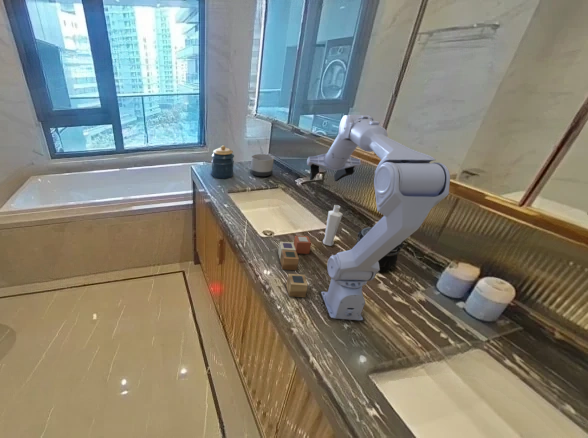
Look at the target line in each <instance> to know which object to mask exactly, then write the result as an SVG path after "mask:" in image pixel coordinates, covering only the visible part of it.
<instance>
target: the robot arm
mask: <svg viewBox="0 0 588 438" xmlns="http://www.w3.org/2000/svg"><path fill="white" fill-rule="evenodd" d="M358 147H359V148H360V149H361V150H362V151H364V152H373V153H374V154H376V156H377V157H378V158H379V160H380V161H379V163H378V164H377V166H376V168H375V171H374V176H373V177H374V178H373V186H374V194H375V195H374V196H375V204H376V210H377V212H378V213H379V214H381V215H383V216H382V217H381V218H380V219H379V220H378V221H377V222H376V223H375V224H373V226H372V227H373V228H372V229H371V230H370V231H369V232H368V233H367V234H366V235H365V236H364V237H363V238H362V239H361V240H360V241H359V242H358V243H357V244H356V243H355V244H356V245H355V244H354V245H353V247H352V248H351V249H347V250H344V251H339V252H337V253H336V254H332V255H330V257H329V258H328V260H327V263H326V264H327V265H326V266H327V267H326V269H327V274H328V276H329V277H330V282H329V285H328V290H327V291H321V292H320V294H321V297H322V300H323V302H324V304H325V307H326V310H327V312H328V315H329V317H330V318H331V319H334V320H335V319H337V320H351V321H363V320H364V318H363V316H362V312H363V310H364V307H365V304H366V299H365V297H364V294H363V286H366V285H367V283H368V282H372V281H373V280H374V279H375V277H376V276H377V273H378V272H380V271H379V270H380V268H379V262H378V261H379V260H380V259H381V258H383V257H384V256H385V255H386V254H388V253H389V252H390V251H391V250H393V249H394V248H395V247H396V246H398V245H399V244H400V243H401V242H402V243H403V242H404V241H405V240H407V239H408V238H409V237H410V236H411V235H413V234H414V233H415V232H417V231H418V230H419V229H420V228H421V226H422V225H423V223H424V221H425V220H426V218H427V217H428V215H429V213H430V212H431V210H432V209H434V207H436V206H437V205H438V204H439V203H441V202H442V201H443V200H444V199H445V198H446V197H448V196H449V194H450V183H451V174H450V170H449V168H448V167H447V166H446V164H444V163H443V162H437V161H436V159H435V157H433V156H432V155H430V154H426V153H424V152H421V151H419V150H416V149H413V148H411V147H408V146H406V145H405V144H403V143H400V142H399V141H397V140H395V139H393V138H390V137H388V132H387V129H385V127H383V126H381V125H380V121H379V120H375V119H374V117H372V116H371V115H370V114H347V115H346V114H345V115H343V116H342V118H341V119H340V121H339V125H338V134H337V135H336V137H335V139H334V140H333V142H332V144H331V146H330V147H329V149H328V151H327V152H326V153H322V154H318V155H314V156H313V155H312V156H308V158H307V160H306V165H307V166H308V167H310V172H309V180H310V181H313V180H314V179H315V178H316V176H317V175H318V174H320V168H324V169H327V170H330V171H336V172H335V173H334V175H333V176H334V177H333V178H334V179H333V180H334V182H338V181H340V180H342V179H343V178H345V177H347V176H352V175H353V174H354V172H355V169H359V167H360V166H361V165H362V163H361V159H360V158H356V157H352V154H353V153H354V151H355V150H356V149H357V148H358ZM435 161H436V162H435Z"/></svg>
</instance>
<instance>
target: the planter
mask: <svg viewBox="0 0 588 438" xmlns="http://www.w3.org/2000/svg"><path fill="white" fill-rule="evenodd" d="M274 160H275V156H273V155H270V154H266V153H265V154H264V153H257V154H253V155H251V158H250V170H249V171H250V174H251V175H253V176H256V177H260V178H262V177H268V176H271V175H273V169H274V168H273V167H274Z"/></svg>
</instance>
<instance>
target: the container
mask: <svg viewBox="0 0 588 438" xmlns="http://www.w3.org/2000/svg"><path fill="white" fill-rule="evenodd" d="M373 227H374V226H372V227H371V226H370V227H364V228H363V229H361V230H359V231H358V232H357V238H356V242H355V244H354V246H355V245H356V244H357V243H358V242H359V241H360V240H361V239H362V238H363V237H364V236H365V235H366V234H367V233H368V232H369V231H370V230H371V229H372V228H373ZM403 248H404V243H403V242H401V243H400V244H399V245H398V246H396V247H395V248H394V249H393V250H391V251H390V252H389V253H388V254H386V255H385V256H384V257H383V258H381V259H380V260H379V261H378V262H379V268H380V270H379V271H378V272H388V271H390V270H391V268H392V267H393V266H394V265H396V264H397V262H398V255H399V253H400V252H401V250H402V249H403Z"/></svg>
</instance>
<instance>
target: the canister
mask: <svg viewBox="0 0 588 438" xmlns="http://www.w3.org/2000/svg"><path fill="white" fill-rule="evenodd" d="M211 158H212V160H211V176H212V177H213V178H217V179H229V178H232V177H233V176H234V165H235V164H234V163H235V160H234V158H235V154H234V151H233V150H232V149H231V148H229V147H226V145H221V146H220V147H217V148H216V149H213V151H212V155H211Z"/></svg>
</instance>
